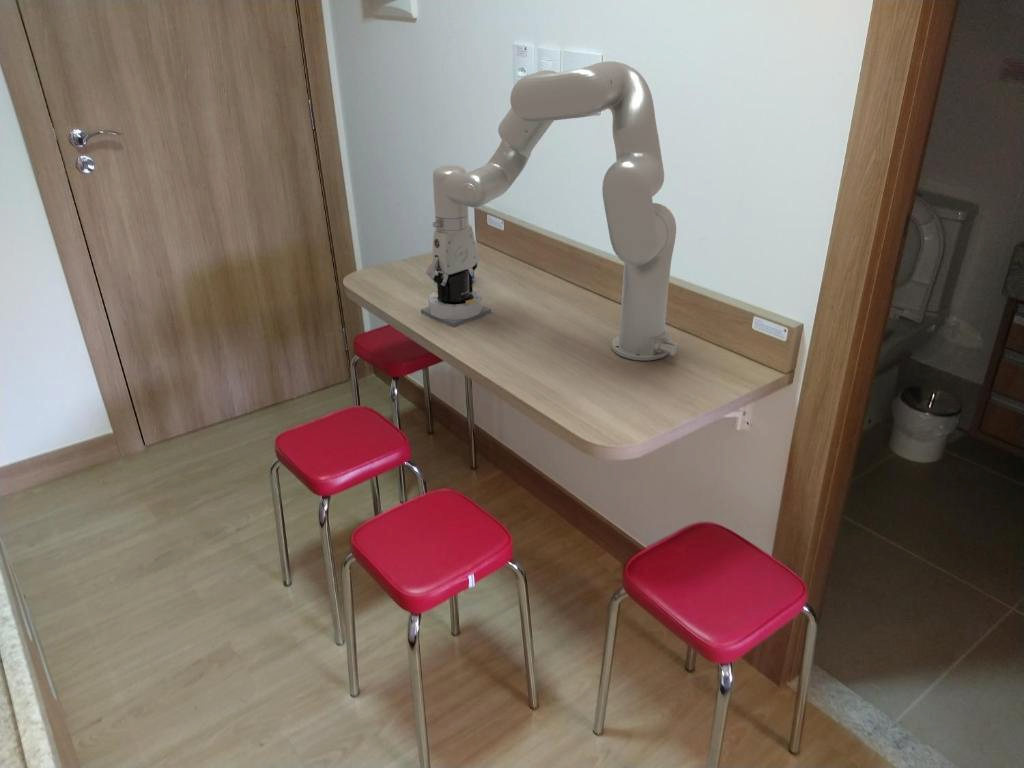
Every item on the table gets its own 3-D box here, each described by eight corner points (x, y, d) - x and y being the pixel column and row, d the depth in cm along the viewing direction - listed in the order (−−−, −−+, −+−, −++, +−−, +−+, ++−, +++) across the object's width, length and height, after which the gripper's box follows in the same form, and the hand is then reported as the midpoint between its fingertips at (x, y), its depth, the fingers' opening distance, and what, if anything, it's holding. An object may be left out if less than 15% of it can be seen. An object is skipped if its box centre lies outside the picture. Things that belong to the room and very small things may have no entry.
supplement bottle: (469, 312, 188) (467, 264, 182) (440, 312, 188) (437, 264, 182) (471, 301, 194) (469, 254, 188) (443, 301, 194) (440, 254, 188)
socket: (492, 312, 191) (492, 294, 189) (453, 328, 184) (452, 309, 181) (458, 299, 199) (457, 281, 197) (419, 313, 192) (418, 295, 189)
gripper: (433, 234, 173) (437, 309, 182) (491, 217, 184) (492, 289, 192) (411, 227, 178) (417, 301, 186) (469, 211, 189) (472, 281, 197)
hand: (455, 294), depth 189 cm, fingers closed on supplement bottle, 6 cm apart
